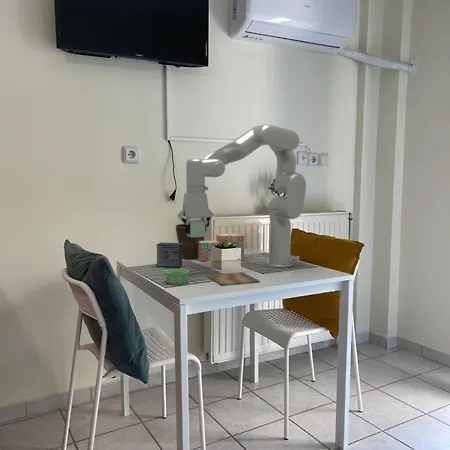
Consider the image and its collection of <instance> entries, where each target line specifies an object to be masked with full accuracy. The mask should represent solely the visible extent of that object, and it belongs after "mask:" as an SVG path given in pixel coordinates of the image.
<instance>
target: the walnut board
mask: <svg viewBox="0 0 450 450" xmlns="http://www.w3.org/2000/svg"><path fill="white" fill-rule="evenodd" d="M206 277H207V278H208V279H210V280H212V281H214V282H215V283H216V284H218V285H220V286H221V287H222V286H234V285H236V286H237V285H245V284H246V285H247V284H256V283H260V282H261V281H260V280H258V279H257V278H255V277H253V276H251V275H250V274H248V273H245V272H243V271H240V272H227V273H217V274H207V275H206Z"/></svg>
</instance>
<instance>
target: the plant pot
mask: <svg viewBox="0 0 450 450" xmlns="http://www.w3.org/2000/svg"><path fill="white" fill-rule="evenodd" d="M175 231H176V236H177V243H182V259H186V260H195V259H198V241H205V240H204V239H205V237H189V236H187V234H186V232H185V224H184V223H180V224H176V225H175Z"/></svg>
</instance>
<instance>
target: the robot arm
mask: <svg viewBox="0 0 450 450" xmlns="http://www.w3.org/2000/svg"><path fill="white" fill-rule="evenodd" d="M299 145H300V137H299V135H298V134H297V132H296V131H294V130H291V129H287V128H283V127H279V126H277V125H272V124H262V125H261V124H260V125H256V126H253V127H251V128H250V129H249V130H247V131H246V132H244V133H243V134H241V135H240V136H239V137H237V138H235V139H234V140H233V141H231V142H228V143H227V144H225V145H224V146H222V147H220V148H219V149H217V150H214V151H213V152H211V153H210V154H208V155H207V156H205V157H203V158H202V159H201V158H192V159H191V158H190V159H188V160H187V161H186V164H185V165H186V167H185V172H186V173H185V174H186V178H185V179H186V180H185V181H186V182H185V183H186V184H185V186H186V190H185V191H186V192H184V194H183V201H182V209H181V210H180V212H178V213H177V216H176V217H177V218H178V219H179V220H181V222H183V224H185V232H186V234H190V225H189V222H190V221H191V219H192V218H193V219H196V218H200V220H201V221H203V222H205V232H207V224H208V222H210V220H211V219H212V218H213V217H214V213H213V212H212V211H211V210H210V209H209V201H208V195H207V192H206V191H209V186H206V178H218V177H222V175H224V173H225V170H226V165H229V164H231V163H234V162H239V161H241V160H243V159H245V158H246V157H248V156H249V155H250V154H252V153H253V152H254V151H256V150H257V149H258V148H260V147H262V146H269V149H270V150H271V151H272V152H273V153H274V155H275V157H276V169H275V178H274V189H275V190H276V192H278V193H282V194H285V196H284V195H278V196H274V197H272V198H271V200H270V201H269V203H268V215H269V216H268V217H269V260H266V261H265V265H266V266H268V267H271V268H279V269H280V268H283V269H284V268H291V267H293V266H294V261H300V256H299V255H291V239H292V233H291V232H292V224H291V220H294V219H298V218H299V217H300V216H301V215H302V213H303V210H304V204H305V198H306V189H307V181H306V178H305V177H304V174H301V173H299V172H296V170H297V168H296V167H297V157H296V155H295V154H296V153H295V152H294V150H296V149H297V148H298V146H299ZM184 217H185V218H184Z"/></svg>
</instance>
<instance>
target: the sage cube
mask: <svg viewBox="0 0 450 450" xmlns="http://www.w3.org/2000/svg"><path fill="white" fill-rule="evenodd" d="M189 225H190V234H187V236H189V237H204V238H205V237H206V231H205V222H203V221H202V220H190V222H189Z"/></svg>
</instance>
